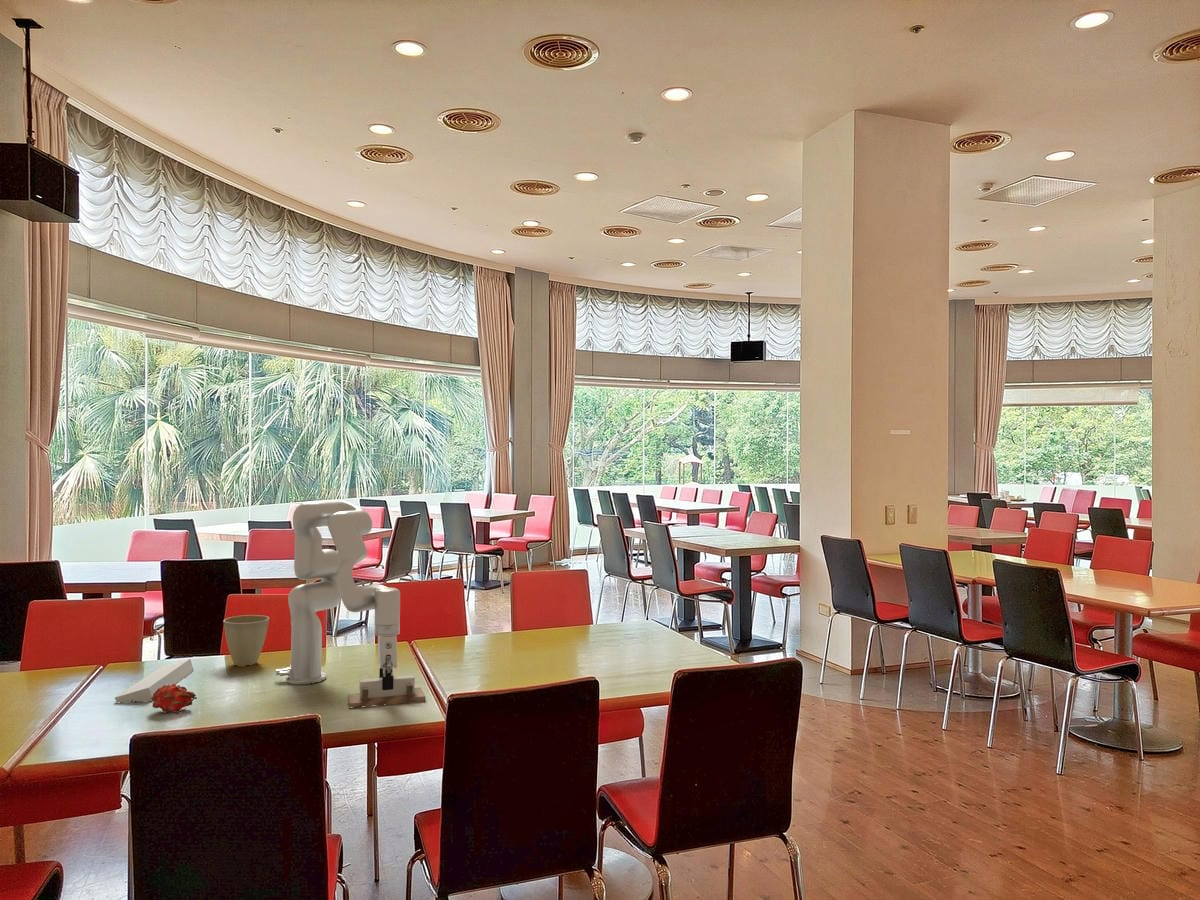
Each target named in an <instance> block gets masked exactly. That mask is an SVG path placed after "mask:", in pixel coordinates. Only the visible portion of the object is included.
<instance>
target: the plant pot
mask: <svg viewBox="0 0 1200 900" xmlns="http://www.w3.org/2000/svg"><path fill="white" fill-rule="evenodd" d="M269 623H270V617H269V616H267V615H260V614H259V615H258V614H257V615H256V614H250V615H249V614H248V615H236V616H231V617H226V618H225V619H223V628H224V635H225V639H226V644H227V647H228V650H229V654H230V657H231V660H232V663H233V665H234V666H235V665H240V666H239V667H246V666H245V665H250V666H254V665H256V664H257V663H258V660H259V658H260V656H261V653H262V651H263V647H264V643H265V642H266V641H265V640H266V637H267V633H268V627H269ZM255 663H256V664H255ZM253 664H254V665H253ZM242 665H244V666H242Z"/></svg>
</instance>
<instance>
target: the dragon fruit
mask: <svg viewBox="0 0 1200 900" xmlns="http://www.w3.org/2000/svg"><path fill="white" fill-rule="evenodd" d="M187 689H188V688H186V687H185V686H181V685H180V684H176V685H175V684H173V685H172V686H169V685H163V687H162V688H158V689H157V691H156V692H155V693H154V694H153V697H152V698H151V699H152V701H153V702H152V705H151V707H153V708H154V709H160V710H162V712H163V713H164V714H168V712H174V713H183V712H185V711H187V709H186V707H189V706H192V705H193V701H194V700H197V699H198V697H197V694H195V692H194V691H190V690H189V691H188V690H187ZM183 708H185V709H183Z"/></svg>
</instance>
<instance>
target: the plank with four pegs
mask: <svg viewBox="0 0 1200 900" xmlns="http://www.w3.org/2000/svg"><path fill="white" fill-rule="evenodd" d="M347 702H349V703H348V708H349V707H361V708H363V707H362V706H372V705H382V706H385V705H384V704H393V705H399V704H398V703H403V704H410V703H411V702H413V703H422V702H426V694H425V692H424V691H423V689H422V687H421V686H420V687H414V694H413V685H412V684H407V695H398V696H387V697H376V698H368V688H362V699H360V696H359V692H355V693H347ZM372 707H373V706H372Z"/></svg>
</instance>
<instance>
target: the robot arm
mask: <svg viewBox="0 0 1200 900" xmlns="http://www.w3.org/2000/svg"><path fill="white" fill-rule="evenodd" d="M292 527H293V533H294V559H293V560H294V561H293V564H294V565H293V568H294V569H293V570H294V575H295V577H296V578H297V579H298V580H300V581H302V580H303V581H310V580H311V581H312V580H318V579H320V581H318V582H310V583H304V584H303V583H302V584H300V585H297V586H295V587H293V588H292V589H291V590H290V591H289V593H288V597H287V599H288V600H287V602H288V608H289V613H290V626H291V629H290V665H289V667H286V668H277V669H276V671H275V676H279V677H285V676H286V677H285V682H286V683H287V684H290V685H311V684H310V683H312V684H315V683H316V682H317V683H321V682H322V680H323V681H324V680H326V678H327V673H325V672H324V671H322V655H323V654H322V649H323V648H322V645H323V644H322V643H323V638H322V637H323V636H322V635H323V633H322V632H323V630H322V629H323V628H322V621H321V620H320V618H319V616H318V615H317V612H319V611H320V612H321V611H325V610H331V609H334V608H336V607H337V606H338V605H339V604H340V602H341V601H342V604H343V605H344V607H345V609H346V610H347V611H349V612H351V613H360V612H361V613H362V612H365V611H371V610H374V615H373V616H374V619H373V620H374V624H373V627H374V628H373V629H374V630H373V631H374V632H373V634H374V636H377V655H378V656H377V657H378V658H377V659H378V664H379V671H378V672H379V673H378V674H379V675H378V676H379V677H378V678H382V690H392V689H393V679H394V677H395V676H394V669H397V668H398V640H397V639H398V638H397V636H398V635H400V634H401V632H400V630H401V629H400V627H401V625H400V624H401V623H400V622H401V621H400V619H401V591H400V589H398V588H396V587H388V586H385V585H384V584H380V583H375V584H370V585H368V584H367V585H363V586H357V585H356V583H355V581H354V577H353V569H354V566H355V565H357V564H358V563H360V562H362V561H363V560H364V559H366V557H367V555H368V549H367V547H366V544H365V542H364V540H363V537H362V536H366V535H368V534H369V533H370V532H371V531H372V529H373V521H372V517H371V516H370V514H369V513H368V512H367V511H366V510H364V509H363V508H361V507H359V506H357V505H355V504H353V503H351V502H349V501H346V500H343V499H332V500H330V499H329V500H328V499H327V500H312V501H305V502H303V503H301V504H299V505H298V506H296V508H295V509H294V512H293V515H292ZM318 527H327V528H328V531H329V533H330V536H331V539H332V541H333V544H334V546H335V549H331V548H325V549H324V548H323V538H322V533H321V532H320V530H319V529H318ZM393 668H394V669H393ZM317 683H316V684H317Z"/></svg>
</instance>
